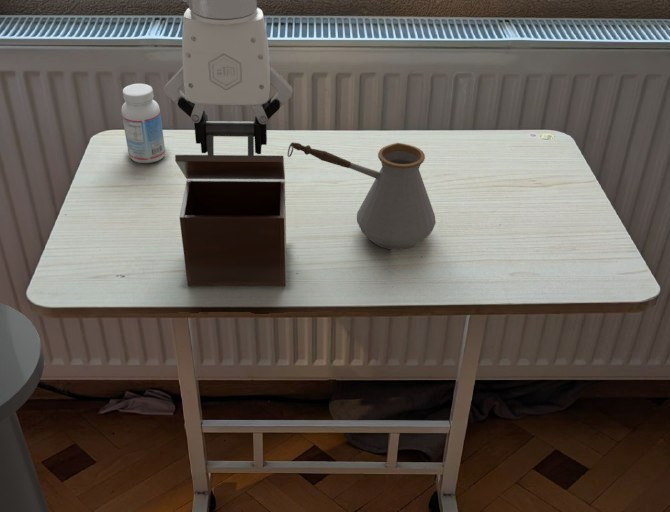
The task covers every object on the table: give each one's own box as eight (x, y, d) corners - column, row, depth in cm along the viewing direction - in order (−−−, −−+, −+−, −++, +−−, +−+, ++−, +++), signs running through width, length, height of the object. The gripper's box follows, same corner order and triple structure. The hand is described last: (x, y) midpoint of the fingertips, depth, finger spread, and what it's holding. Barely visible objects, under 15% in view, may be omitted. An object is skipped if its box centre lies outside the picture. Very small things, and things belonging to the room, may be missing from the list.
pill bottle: (161, 144, 141) (153, 79, 133) (169, 161, 137) (161, 94, 129) (125, 150, 139) (114, 84, 131) (132, 167, 135) (121, 99, 127)
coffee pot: (426, 213, 127) (436, 119, 117) (440, 256, 119) (453, 159, 108) (286, 217, 125) (284, 122, 115) (291, 261, 117) (289, 163, 106)
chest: (285, 286, 113) (284, 217, 105) (187, 286, 112) (179, 217, 105) (286, 246, 120) (285, 179, 112) (193, 246, 119) (186, 179, 112)
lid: (283, 162, 102) (283, 117, 102) (175, 161, 101) (174, 116, 101) (284, 179, 112) (284, 139, 112) (186, 179, 111) (185, 138, 111)
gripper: (141, 9, 90) (160, 161, 103) (299, 13, 91) (299, 164, 103) (150, -14, 96) (167, 134, 108) (300, -10, 96) (300, 136, 109)
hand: (232, 147), depth 106 cm, fingers closed on lid, 6 cm apart
